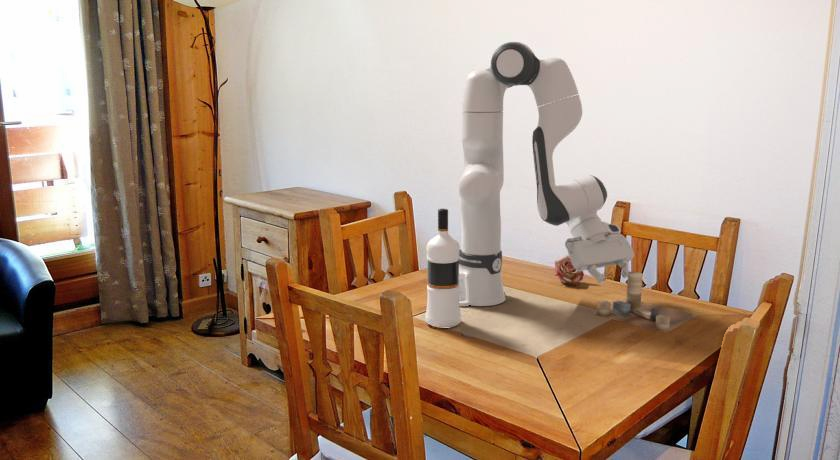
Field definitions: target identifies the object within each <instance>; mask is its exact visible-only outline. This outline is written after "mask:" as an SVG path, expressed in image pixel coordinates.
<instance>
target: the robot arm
mask: <svg viewBox="0 0 840 460" xmlns="http://www.w3.org/2000/svg"><path fill="white" fill-rule="evenodd" d="M574 79H575V78H574V76H573V74H572V72H571V70H570V67H569V66H568V64H567V62H566V61H565V59H564V60H563V59H561V58H558V57H549V58H545V59H539V58H538V57H537V56H536V54H535V53H534V51H533V50H532V49H531V48H530V47H529V46H528V45H526V44H525V43H522V42H518V41H510V42H506V43H505V42H504V43H503V44H501V45H499V46H498V47H497V48H496V49H495V50H494V52H493V54H492V57H491V59H490V66H489V67H487V68H481V69H476V70H474V71H471V72H470V73H468V75H467V76H466V79H465V81H464V87H463V93H462V94H463V95H462V103H461V104H462V107H461V143H462V149H463V150H462V151H463V164H464V171H463V172H462V174H461V175H460V177H459V181H458V199H459V212H460V213H459V214H460V222H461V242H460V243H461V247H460V252H459V256H460V259H459V286H460V288H459V305H460V307H469V305H471V306H472V307H473V306H474V307H488V306H489V307H490V306H496V305H500V304H502V303H504V302H505V301H506V294H505V291H504V286H503V279H502V278H503V277H502V265H503V251H502V250H501V248H502V247H501V245H502V218H501V190H502V188H503V185H504V181H505V180H504V176H505V175H504V174H505V173H504V169H505V168H504V142H503V141H504V140H503V138H504V137H503V136H504V133H503V132H504V97H505V92H506V90H507V89H508V88H512V87H514V86H515V87H517V86H528V88H529V89H530V90H531V91H532V94H533V97H534V100H535V103H536V107H537V111H538V122H537V125H536V127H535V128H534V130H533V132H532V137H531V138H532V141H531V142H532V153H533V162H534V171H535V182H536V199H537V200H536V205H537V211H538V215H539V216H540V218H541V220H542V221H544V222H546V223H547V224H548V225H549V224H550V225H553V226H556V227H558V226H560V225H563V224H566V225H567V226H568V228H569V231H570V234H571V235H572V237H573V238H572V237H569V238H567V239H566V240H565V242H564V246H565V248H566V250H567V253H568V256H569V257H570V260H571V262H572V265H573V267H574V268H575V269H576V270H577V271H583V272H584V271H587V272H588V273H589V274H590V275H591V276H592V277H594V278H595V279H596V281H597V283H598V284H601V283H604V282H605V281H606V280H607V278H606V276H605V274H604V273H601V272H600V271H599V270H598V269H599V268H605V267H609V266H610V267H611V266H616V265H618V266H619V268H621V272H620V275H621V276H622V278H623V279H626V278H627V279H628V272H631V271H630V270H629V262H630V261H631V260H632V259H634V257H635V252H634V250H633V248H632V246H631V244H630V242H629V241H628V239H627V238H626V236H625V235H623V234H622V233H621V232H622V229H621V227H620V226H619V225H616V224H612V223H608V222H605V221H602V219H601V217H599V216H598V214H597V213H598V211H600V210H601V209H602V208H603V207H604V205H605V203H606V200H607V198H608V191H607V188H606V187H605V185H604V183H603V182H602V180H600V178H598V177H596V176H594V175H592V174H589V175H585V176H582V177H577V178H575V179H573V180H569V181H566V182H564V183H561V184H558V185H556V179H555V169H554V161H553V156H554V155H553V153H554V152H555V149H556V147H557V146H558V145H559V144H560V143H561V142H562V141H563V140H564V139H565V138H566V137H568V136H569V135H570V134H571V133H572V132H573V131H575V129H576V128H577V127H578V126H579V123H580V122H581V120H582V117H583V106H582V100H581V98H580V94H579V90H578V87H577V84H576V82H575V80H574ZM471 306H470V307H471Z"/></svg>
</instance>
